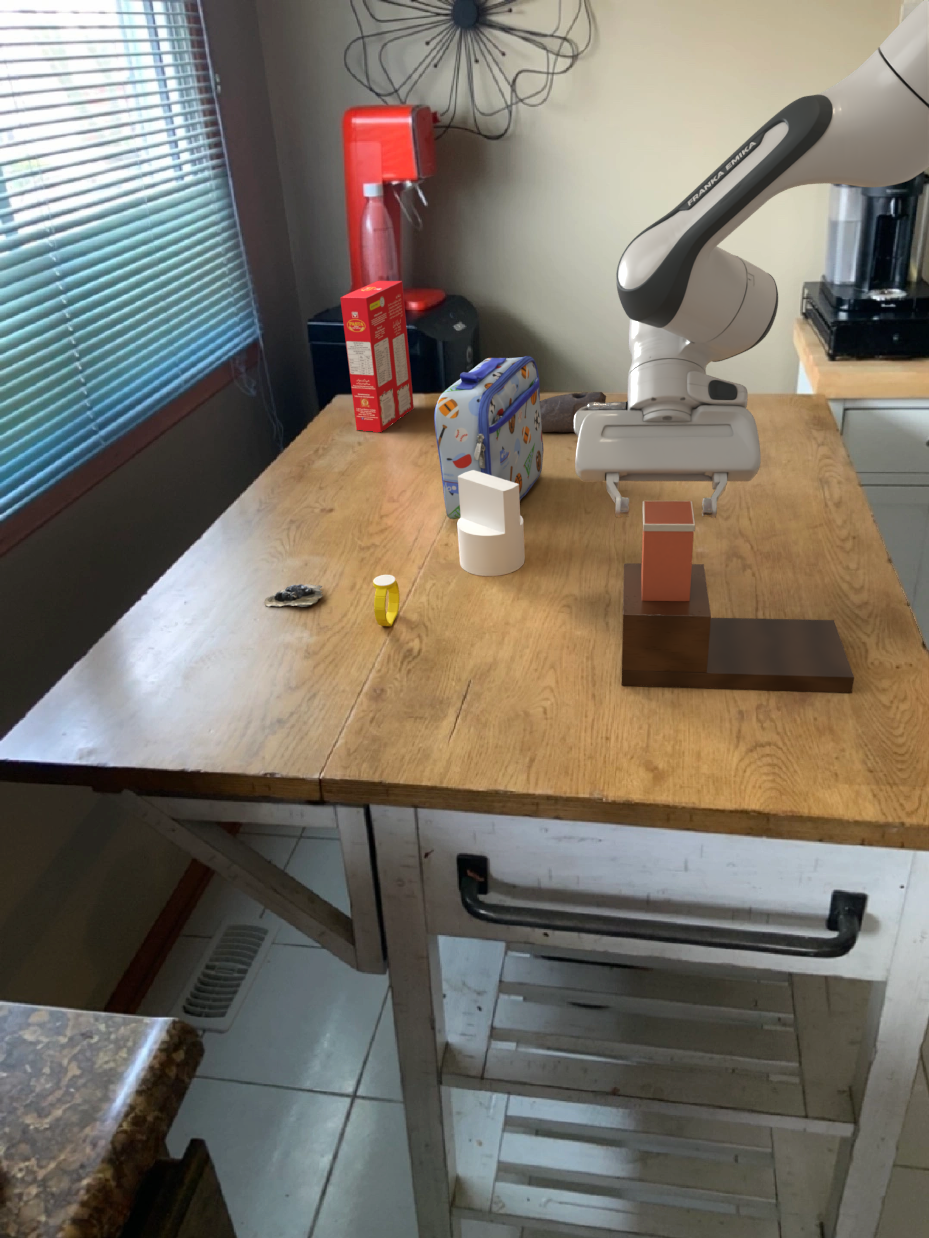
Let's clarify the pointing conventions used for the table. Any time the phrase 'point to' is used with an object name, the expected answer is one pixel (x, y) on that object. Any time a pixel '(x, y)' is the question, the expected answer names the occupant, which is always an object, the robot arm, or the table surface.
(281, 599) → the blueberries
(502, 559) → the cylinder with rectangular tab
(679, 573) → the tapered rectangular bin
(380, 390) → the food packaging
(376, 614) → the watch
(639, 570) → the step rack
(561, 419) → the perforated stone tool
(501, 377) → the lunch box
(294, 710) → the table surface
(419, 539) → the table surface
